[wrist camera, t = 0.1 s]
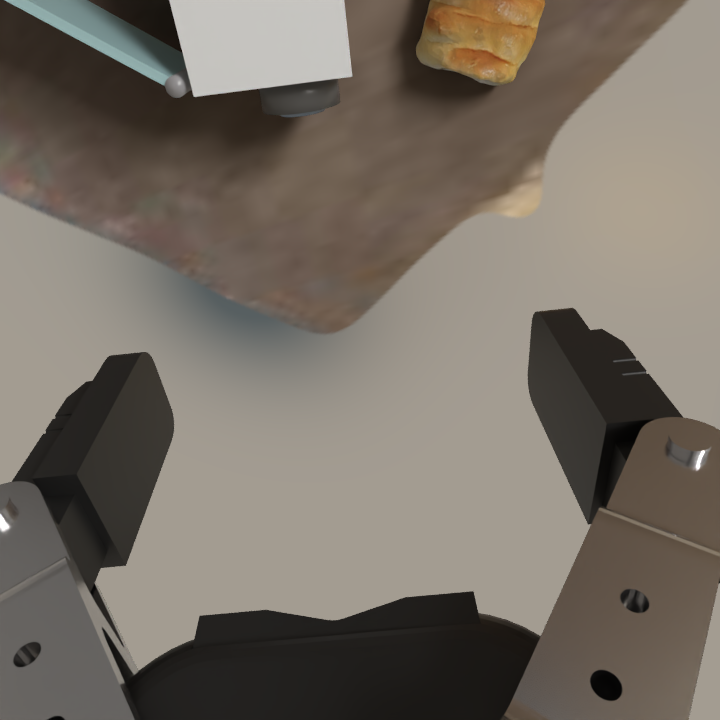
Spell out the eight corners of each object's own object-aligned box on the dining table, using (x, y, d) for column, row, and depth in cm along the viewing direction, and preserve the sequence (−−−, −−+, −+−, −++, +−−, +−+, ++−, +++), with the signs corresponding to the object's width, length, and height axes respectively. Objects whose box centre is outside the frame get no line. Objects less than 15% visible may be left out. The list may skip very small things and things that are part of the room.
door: (-58, -58, 30) (-153, -68, 24) (-55, -85, 30) (-151, -102, 24) (206, 86, 35) (179, 107, 29) (213, 65, 34) (188, 82, 28)
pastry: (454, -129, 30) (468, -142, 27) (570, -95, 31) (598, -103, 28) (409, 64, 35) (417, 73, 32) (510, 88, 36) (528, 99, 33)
